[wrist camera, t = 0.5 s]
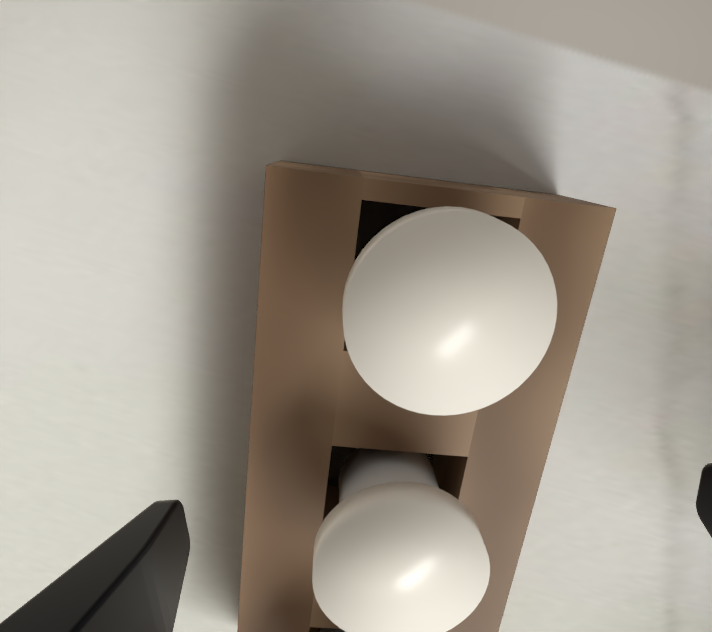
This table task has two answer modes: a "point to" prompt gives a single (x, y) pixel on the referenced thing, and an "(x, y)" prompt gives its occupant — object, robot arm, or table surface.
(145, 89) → the table surface
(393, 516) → the knob middle
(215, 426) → the table surface
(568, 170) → the table surface
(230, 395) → the table surface
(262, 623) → the knob mount
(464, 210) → the knob
